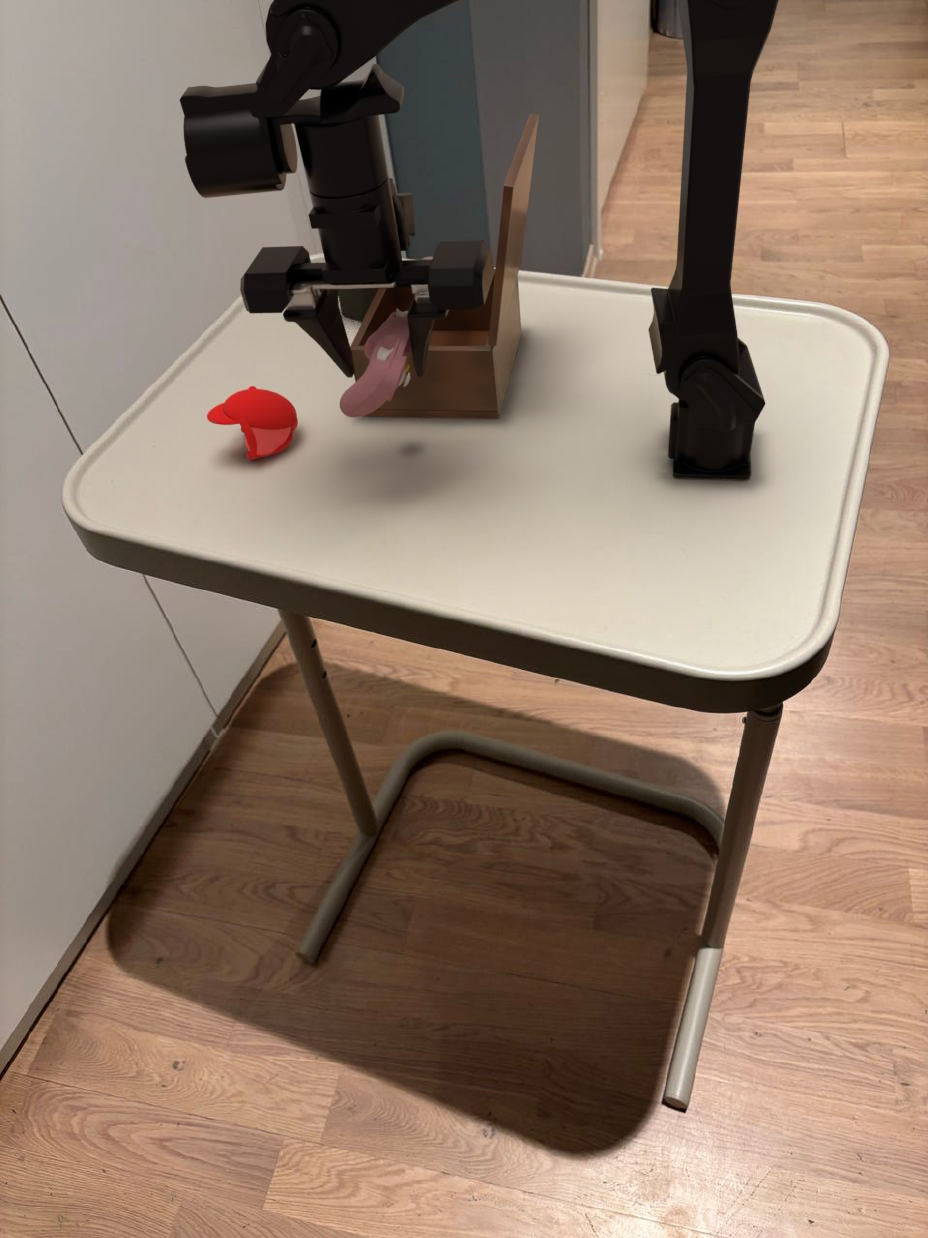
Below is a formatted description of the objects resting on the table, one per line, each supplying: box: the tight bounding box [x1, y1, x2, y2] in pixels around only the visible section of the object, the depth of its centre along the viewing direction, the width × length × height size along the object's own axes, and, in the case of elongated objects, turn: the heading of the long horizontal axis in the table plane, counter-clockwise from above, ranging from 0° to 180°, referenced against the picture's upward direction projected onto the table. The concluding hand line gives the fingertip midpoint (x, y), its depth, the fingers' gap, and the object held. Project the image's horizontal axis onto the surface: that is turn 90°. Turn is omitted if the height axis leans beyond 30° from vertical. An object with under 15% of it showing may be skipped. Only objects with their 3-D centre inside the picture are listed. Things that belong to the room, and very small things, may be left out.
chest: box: [350, 268, 523, 420], centre depth 93 cm, size 14×16×7 cm
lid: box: [488, 113, 539, 346], centre depth 84 cm, size 14×16×1 cm
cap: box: [206, 385, 299, 460], centre depth 88 cm, size 8×6×6 cm
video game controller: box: [339, 308, 411, 418], centre depth 76 cm, size 10×5×7 cm, turn 170°
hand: (386, 374), depth 77 cm, fingers closed on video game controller, 6 cm apart
